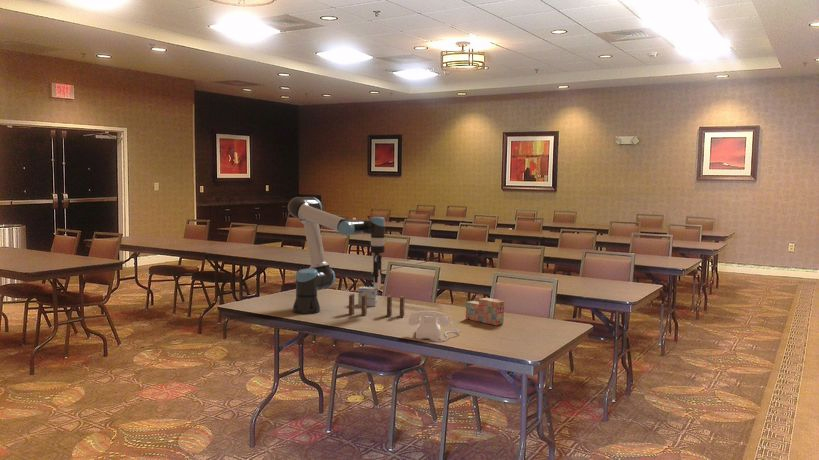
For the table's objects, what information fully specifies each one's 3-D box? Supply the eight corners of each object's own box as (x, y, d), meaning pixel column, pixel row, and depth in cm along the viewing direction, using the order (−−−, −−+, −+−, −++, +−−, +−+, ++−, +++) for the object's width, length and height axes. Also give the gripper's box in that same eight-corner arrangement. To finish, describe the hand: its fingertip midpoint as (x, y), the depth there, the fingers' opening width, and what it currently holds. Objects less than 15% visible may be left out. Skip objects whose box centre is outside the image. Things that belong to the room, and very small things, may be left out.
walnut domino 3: (386, 316, 348) (387, 296, 347) (388, 314, 354) (388, 295, 353) (390, 317, 348) (390, 297, 347) (391, 314, 353) (391, 295, 353)
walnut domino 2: (361, 315, 349) (361, 295, 349) (363, 313, 355) (363, 294, 354) (364, 316, 349) (364, 296, 348) (366, 313, 355) (366, 294, 354)
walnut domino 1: (348, 315, 350) (349, 295, 349) (351, 313, 356) (351, 293, 355) (352, 315, 350) (352, 295, 349) (354, 313, 356) (354, 293, 355)
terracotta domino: (374, 290, 347) (374, 270, 347) (376, 289, 353) (376, 269, 353) (377, 290, 347) (378, 270, 347) (379, 289, 353) (380, 269, 352)
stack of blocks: (465, 318, 347) (465, 296, 347) (472, 317, 352) (473, 295, 351) (496, 325, 332) (496, 302, 331) (503, 323, 336) (504, 300, 335)
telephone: (460, 332, 315) (461, 307, 314) (461, 343, 294) (461, 316, 294) (409, 331, 317) (410, 306, 316) (406, 341, 296) (407, 314, 295)
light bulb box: (377, 304, 383) (377, 286, 382) (375, 306, 376) (376, 288, 376) (359, 303, 384) (360, 286, 383) (357, 306, 377) (358, 287, 377)
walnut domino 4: (399, 317, 347) (399, 297, 346) (401, 315, 353) (401, 295, 352) (402, 317, 347) (403, 297, 346) (404, 315, 353) (404, 295, 352)
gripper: (381, 247, 339) (381, 290, 340) (387, 244, 358) (386, 285, 359) (367, 246, 340) (367, 290, 341) (373, 243, 358) (373, 284, 360)
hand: (377, 287), depth 350 cm, fingers closed on terracotta domino, 6 cm apart
